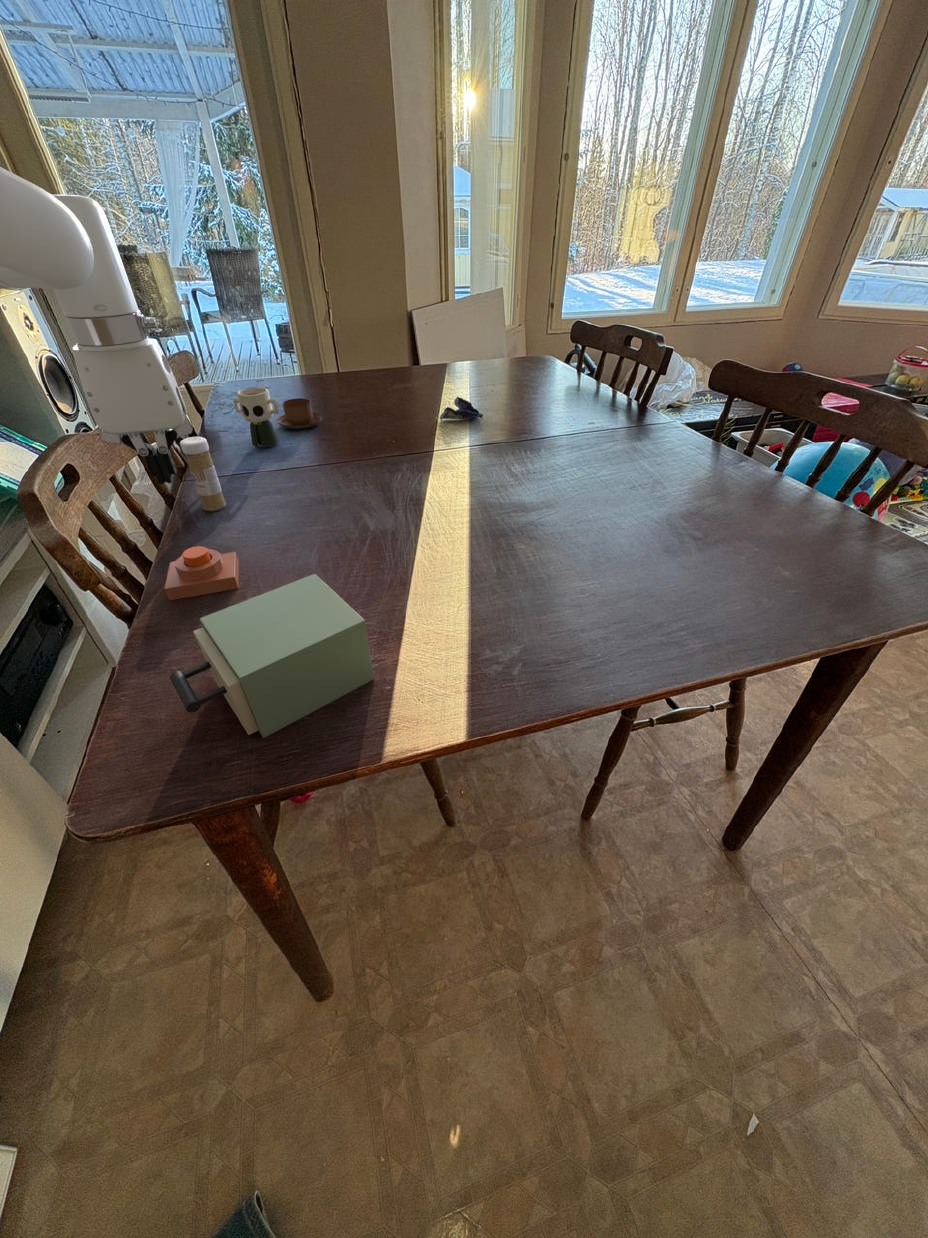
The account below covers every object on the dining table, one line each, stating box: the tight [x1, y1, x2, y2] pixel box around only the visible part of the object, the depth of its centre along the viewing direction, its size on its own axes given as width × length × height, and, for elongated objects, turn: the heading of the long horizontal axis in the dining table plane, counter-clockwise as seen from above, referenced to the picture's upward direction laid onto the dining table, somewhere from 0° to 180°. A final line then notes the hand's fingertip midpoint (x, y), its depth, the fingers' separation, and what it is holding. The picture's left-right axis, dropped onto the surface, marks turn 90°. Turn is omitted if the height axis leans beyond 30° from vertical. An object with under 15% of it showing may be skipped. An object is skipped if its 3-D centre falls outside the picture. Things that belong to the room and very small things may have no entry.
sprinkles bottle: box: [179, 436, 227, 512], centre depth 98 cm, size 5×5×13 cm
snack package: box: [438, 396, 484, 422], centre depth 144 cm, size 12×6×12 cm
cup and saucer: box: [276, 397, 323, 430], centre depth 139 cm, size 12×12×6 cm
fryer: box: [199, 573, 375, 739], centre depth 62 cm, size 15×13×10 cm
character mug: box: [232, 386, 280, 448], centre depth 125 cm, size 11×7×13 cm, turn 85°
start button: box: [181, 545, 211, 567], centre depth 79 cm, size 4×4×2 cm
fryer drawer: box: [169, 626, 259, 736], centre depth 60 cm, size 18×11×8 cm, turn 129°
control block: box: [163, 548, 240, 601], centre depth 81 cm, size 10×8×4 cm
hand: (166, 479), depth 71 cm, fingers closed
